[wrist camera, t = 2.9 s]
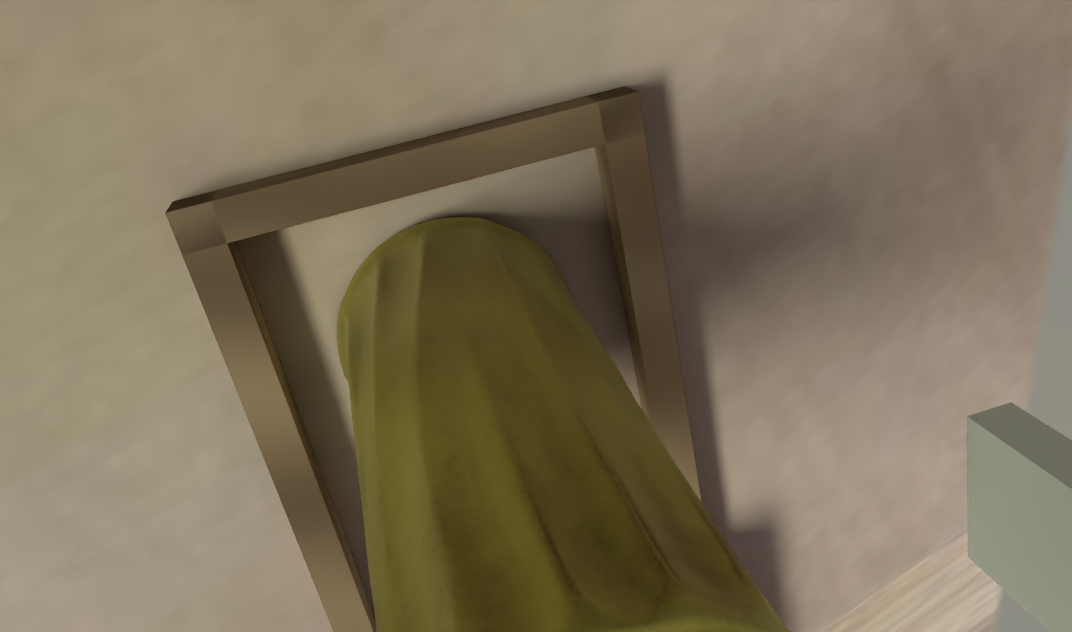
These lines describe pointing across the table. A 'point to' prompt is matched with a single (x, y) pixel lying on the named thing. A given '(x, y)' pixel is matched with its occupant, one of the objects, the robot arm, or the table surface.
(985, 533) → the robot arm
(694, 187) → the table surface
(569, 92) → the table surface
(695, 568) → the vase
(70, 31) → the table surface
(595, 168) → the table surface
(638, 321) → the channel
